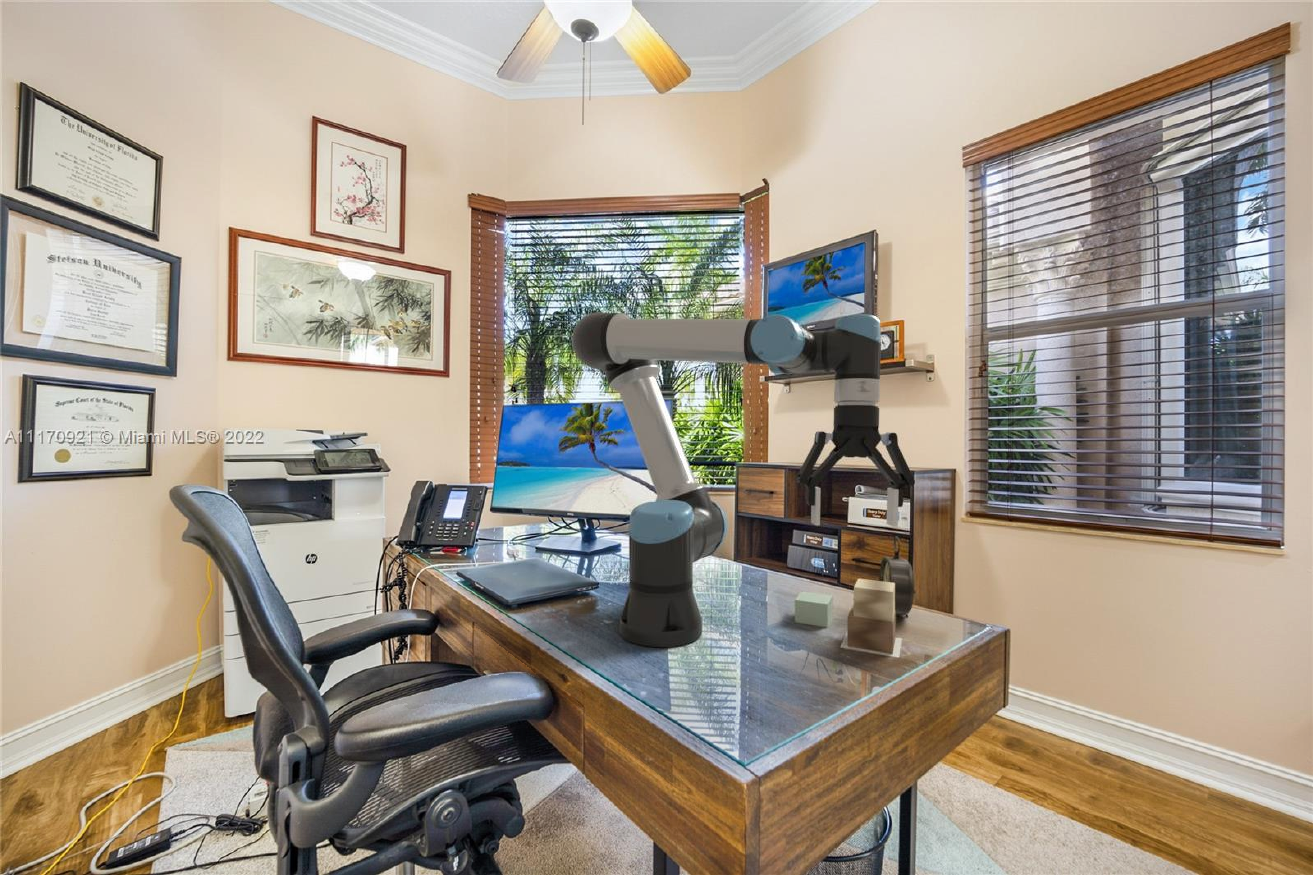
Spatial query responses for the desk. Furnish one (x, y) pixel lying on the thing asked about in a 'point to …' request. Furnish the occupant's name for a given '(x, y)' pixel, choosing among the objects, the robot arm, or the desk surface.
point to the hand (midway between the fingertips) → (853, 525)
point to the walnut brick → (870, 633)
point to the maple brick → (874, 600)
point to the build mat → (895, 652)
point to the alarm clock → (899, 580)
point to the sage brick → (814, 609)
